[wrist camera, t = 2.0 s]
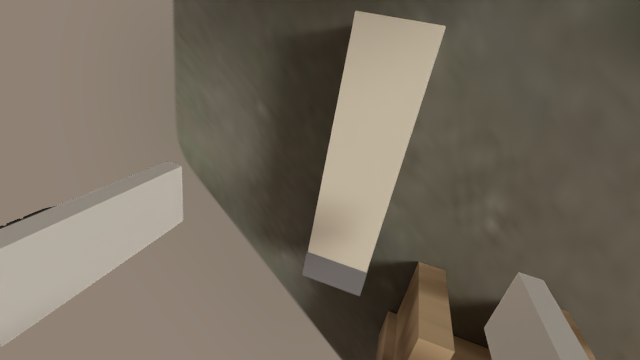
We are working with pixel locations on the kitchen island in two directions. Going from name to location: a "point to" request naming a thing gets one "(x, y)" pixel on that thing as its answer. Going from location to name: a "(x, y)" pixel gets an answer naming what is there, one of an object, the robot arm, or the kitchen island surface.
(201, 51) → the kitchen island surface
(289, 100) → the kitchen island surface
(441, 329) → the wooden post cradle
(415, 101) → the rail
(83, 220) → the robot arm
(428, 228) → the kitchen island surface
